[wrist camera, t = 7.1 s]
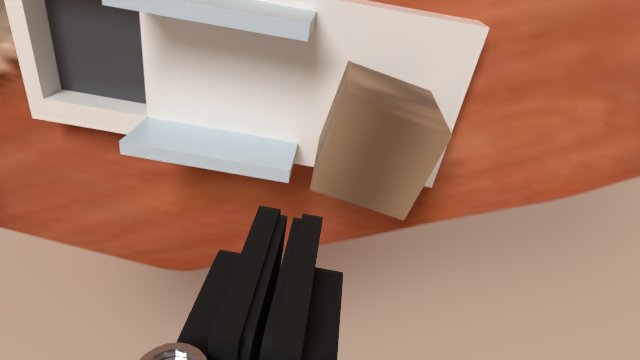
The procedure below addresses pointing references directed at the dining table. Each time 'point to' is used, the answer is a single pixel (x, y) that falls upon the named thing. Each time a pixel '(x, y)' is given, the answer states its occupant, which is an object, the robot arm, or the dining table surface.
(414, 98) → the walnut block
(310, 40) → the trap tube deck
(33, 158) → the dining table surface
